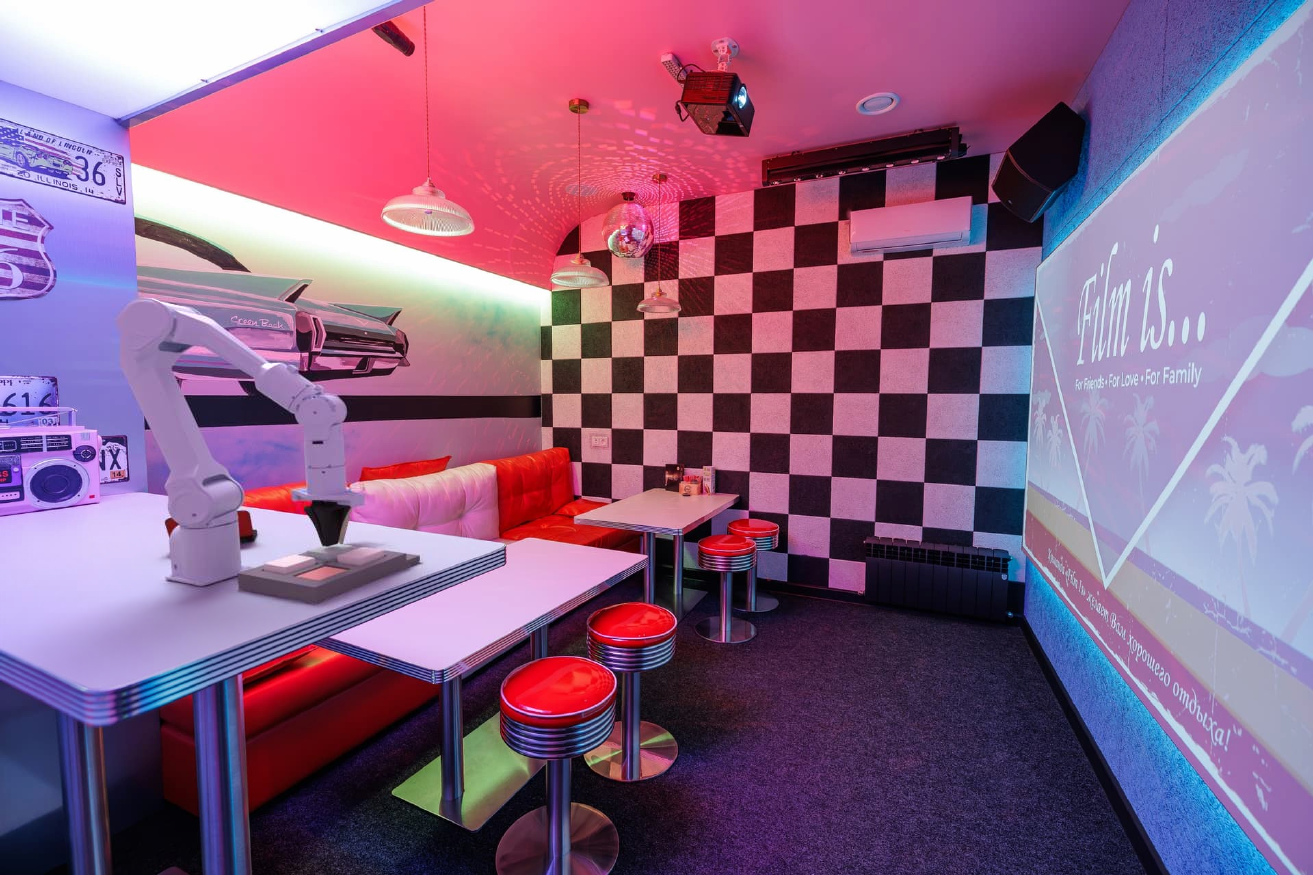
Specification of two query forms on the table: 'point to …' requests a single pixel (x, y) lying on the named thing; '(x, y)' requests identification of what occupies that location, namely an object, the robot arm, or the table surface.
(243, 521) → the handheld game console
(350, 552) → the ivory key
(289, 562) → the ivory key
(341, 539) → the ice cream cone
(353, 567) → the keypad frame
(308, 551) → the mint key
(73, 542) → the table surface
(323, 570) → the coral key
